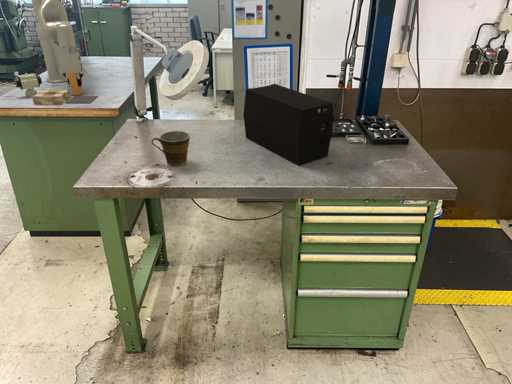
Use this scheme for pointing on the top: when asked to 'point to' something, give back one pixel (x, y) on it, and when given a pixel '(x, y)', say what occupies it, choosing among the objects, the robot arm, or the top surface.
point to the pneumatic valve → (28, 83)
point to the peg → (74, 84)
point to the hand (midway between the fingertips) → (75, 85)
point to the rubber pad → (82, 99)
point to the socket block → (51, 97)
